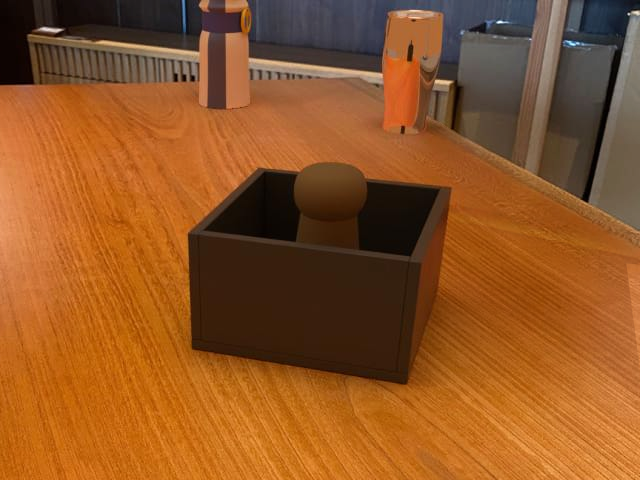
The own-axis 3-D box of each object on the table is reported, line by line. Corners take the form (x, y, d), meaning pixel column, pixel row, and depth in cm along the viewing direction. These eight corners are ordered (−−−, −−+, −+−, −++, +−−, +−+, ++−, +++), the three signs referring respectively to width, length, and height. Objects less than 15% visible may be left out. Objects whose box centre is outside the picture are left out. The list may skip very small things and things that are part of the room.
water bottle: (260, 98, 128) (262, -92, 115) (243, 111, 121) (244, -90, 108) (209, 94, 130) (206, -93, 117) (190, 106, 123) (184, -90, 110)
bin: (437, 291, 69) (452, 186, 64) (406, 384, 56) (421, 262, 52) (257, 267, 73) (258, 167, 69) (191, 348, 61) (187, 232, 56)
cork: (276, 321, 63) (280, 175, 57) (292, 288, 68) (297, 151, 62) (357, 330, 61) (370, 182, 56) (367, 296, 66) (379, 157, 60)
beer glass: (437, 138, 109) (453, 12, 101) (418, 151, 104) (433, 19, 96) (387, 131, 112) (398, 8, 104) (366, 143, 107) (376, 15, 99)
